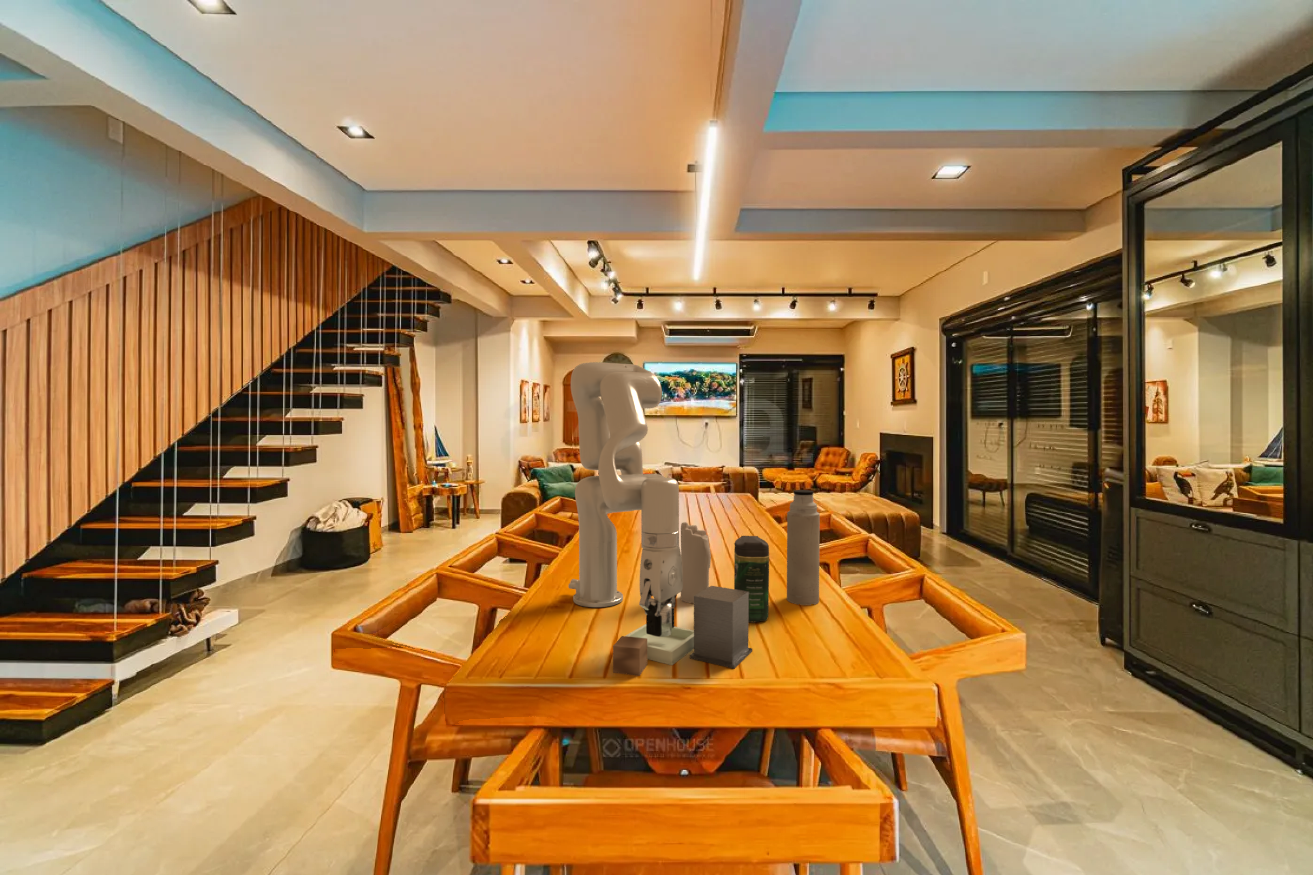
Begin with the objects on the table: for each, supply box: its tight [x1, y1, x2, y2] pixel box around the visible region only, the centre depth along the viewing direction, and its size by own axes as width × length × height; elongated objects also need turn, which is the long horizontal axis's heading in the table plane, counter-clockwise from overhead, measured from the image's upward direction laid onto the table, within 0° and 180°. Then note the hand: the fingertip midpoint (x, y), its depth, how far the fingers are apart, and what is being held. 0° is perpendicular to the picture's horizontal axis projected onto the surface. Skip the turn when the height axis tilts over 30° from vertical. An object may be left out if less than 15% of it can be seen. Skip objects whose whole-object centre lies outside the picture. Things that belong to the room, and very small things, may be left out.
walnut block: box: [612, 635, 648, 677], centre depth 106 cm, size 5×5×5 cm
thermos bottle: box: [786, 489, 821, 606], centre depth 146 cm, size 8×8×28 cm
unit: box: [689, 585, 753, 670], centre depth 112 cm, size 9×9×12 cm
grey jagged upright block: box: [680, 521, 712, 604], centre depth 146 cm, size 7×14×20 cm, turn 73°
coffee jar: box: [733, 535, 770, 623], centre depth 134 cm, size 10×8×19 cm
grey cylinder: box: [651, 600, 672, 637], centre depth 115 cm, size 4×4×6 cm
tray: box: [625, 623, 694, 666], centre depth 116 cm, size 12×12×2 cm
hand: (660, 629), depth 115 cm, fingers closed on grey cylinder, 4 cm apart
